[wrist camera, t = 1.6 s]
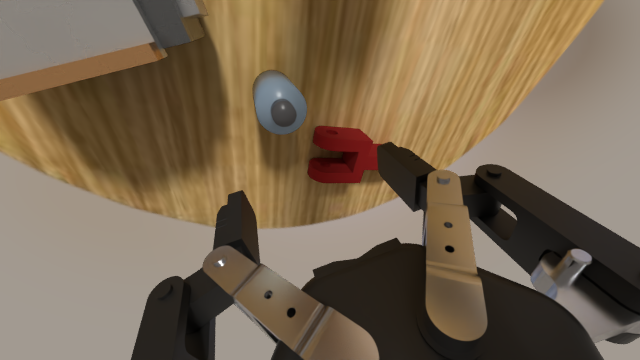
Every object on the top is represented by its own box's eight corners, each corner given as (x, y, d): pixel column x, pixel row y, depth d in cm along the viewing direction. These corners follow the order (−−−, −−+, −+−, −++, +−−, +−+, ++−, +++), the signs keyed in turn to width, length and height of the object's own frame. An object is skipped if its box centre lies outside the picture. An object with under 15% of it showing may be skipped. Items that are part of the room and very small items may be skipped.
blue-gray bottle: (286, 65, 29) (303, 80, 21) (297, 105, 32) (315, 131, 24) (246, 76, 28) (248, 96, 21) (260, 116, 31) (267, 146, 24)
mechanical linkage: (304, 166, 38) (312, 183, 34) (311, 124, 34) (320, 138, 30) (386, 167, 43) (401, 182, 39) (400, 131, 39) (418, 143, 35)
